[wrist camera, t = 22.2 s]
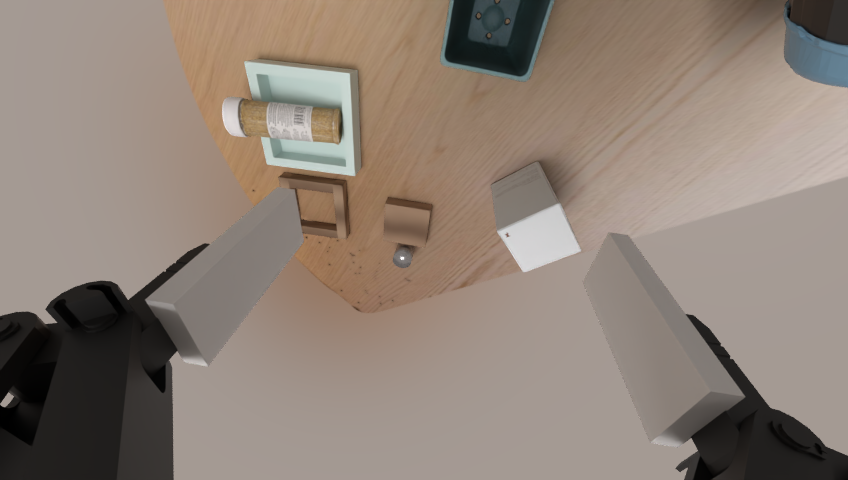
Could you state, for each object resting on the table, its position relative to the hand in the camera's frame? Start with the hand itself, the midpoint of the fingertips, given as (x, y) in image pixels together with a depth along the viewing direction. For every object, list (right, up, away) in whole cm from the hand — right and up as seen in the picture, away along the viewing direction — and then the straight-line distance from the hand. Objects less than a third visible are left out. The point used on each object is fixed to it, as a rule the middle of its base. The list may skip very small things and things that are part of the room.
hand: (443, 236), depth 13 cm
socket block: (-18, +6, +38) cm, 43 cm away
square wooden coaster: (-3, +3, +38) cm, 38 cm away
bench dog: (-4, -1, +41) cm, 41 cm away
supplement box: (+14, +7, +32) cm, 36 cm away
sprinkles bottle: (-12, +15, +27) cm, 33 cm away
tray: (-16, +17, +30) cm, 38 cm away
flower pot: (+7, +24, +21) cm, 33 cm away
